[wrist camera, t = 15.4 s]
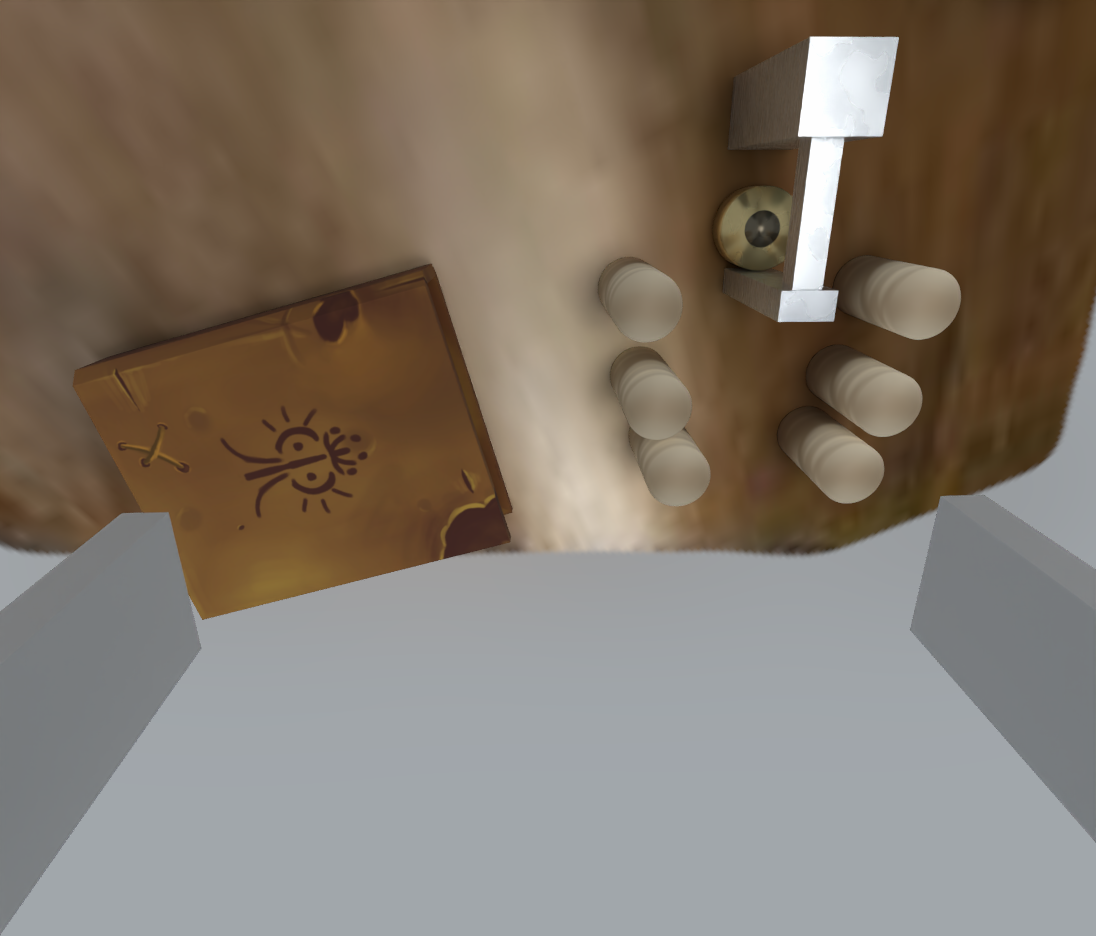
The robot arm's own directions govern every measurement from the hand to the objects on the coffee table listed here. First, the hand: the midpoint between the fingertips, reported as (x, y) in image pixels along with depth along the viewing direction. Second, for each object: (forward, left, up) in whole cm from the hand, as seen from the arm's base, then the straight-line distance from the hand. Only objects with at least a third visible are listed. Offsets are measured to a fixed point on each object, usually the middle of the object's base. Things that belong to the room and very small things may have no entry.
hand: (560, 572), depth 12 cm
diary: (+10, -15, -37) cm, 42 cm away
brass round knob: (-4, +14, -37) cm, 40 cm away
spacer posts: (+6, +14, -37) cm, 40 cm away
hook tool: (-10, +14, -37) cm, 41 cm away
